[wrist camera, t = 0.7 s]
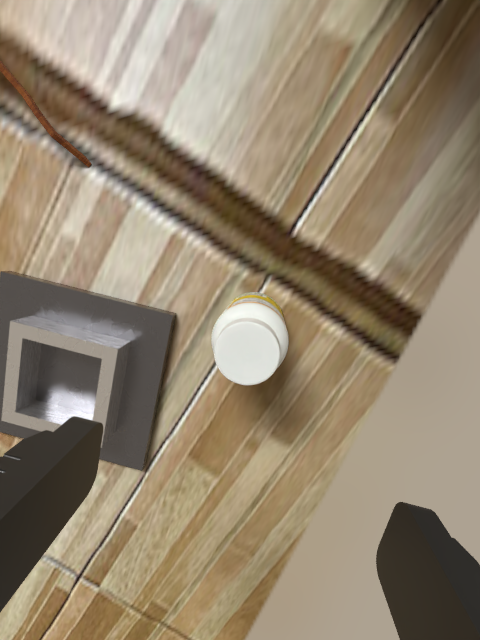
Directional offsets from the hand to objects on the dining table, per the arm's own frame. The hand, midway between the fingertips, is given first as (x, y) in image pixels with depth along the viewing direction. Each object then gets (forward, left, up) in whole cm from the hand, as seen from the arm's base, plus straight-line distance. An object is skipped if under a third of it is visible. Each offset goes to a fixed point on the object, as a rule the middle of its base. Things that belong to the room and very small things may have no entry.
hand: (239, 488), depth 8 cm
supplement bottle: (0, -1, -20) cm, 20 cm away
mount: (+9, -16, -20) cm, 27 cm away
